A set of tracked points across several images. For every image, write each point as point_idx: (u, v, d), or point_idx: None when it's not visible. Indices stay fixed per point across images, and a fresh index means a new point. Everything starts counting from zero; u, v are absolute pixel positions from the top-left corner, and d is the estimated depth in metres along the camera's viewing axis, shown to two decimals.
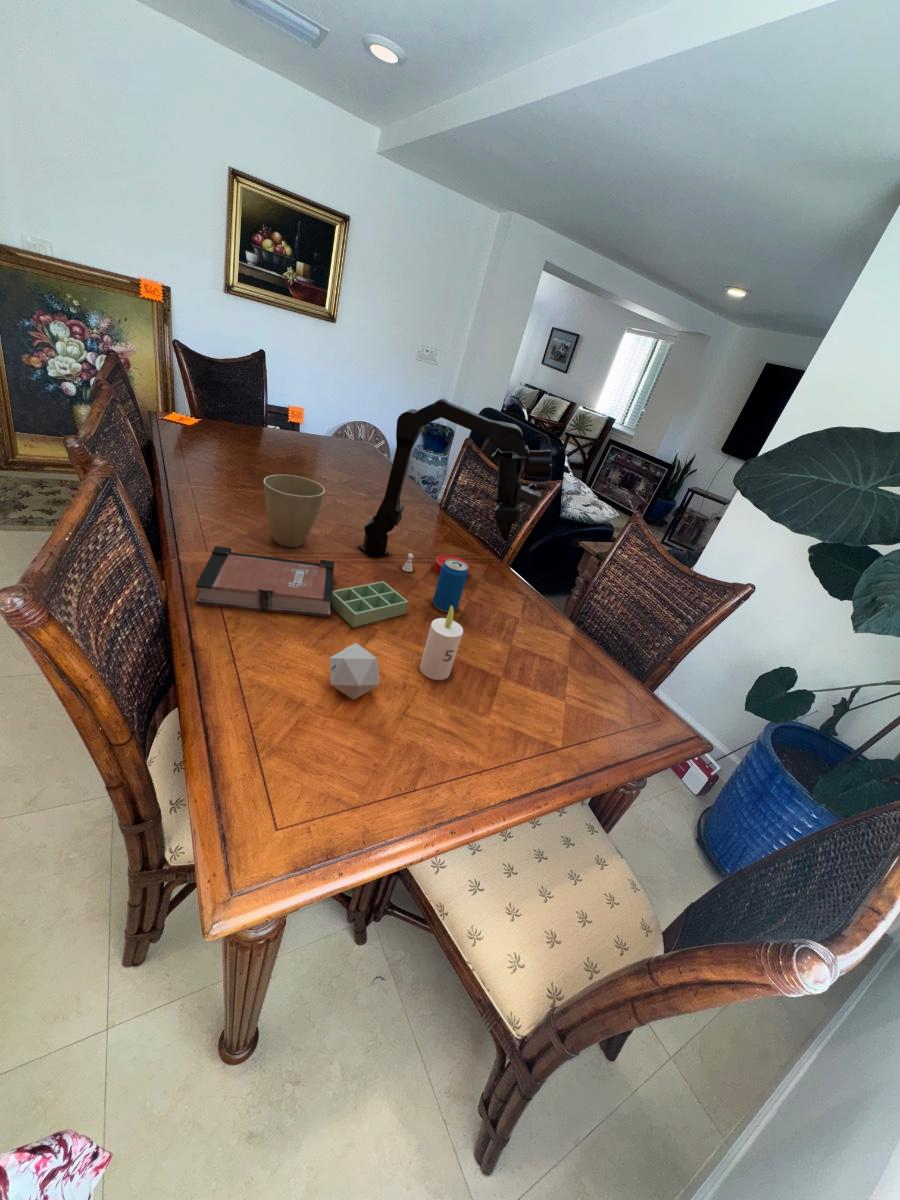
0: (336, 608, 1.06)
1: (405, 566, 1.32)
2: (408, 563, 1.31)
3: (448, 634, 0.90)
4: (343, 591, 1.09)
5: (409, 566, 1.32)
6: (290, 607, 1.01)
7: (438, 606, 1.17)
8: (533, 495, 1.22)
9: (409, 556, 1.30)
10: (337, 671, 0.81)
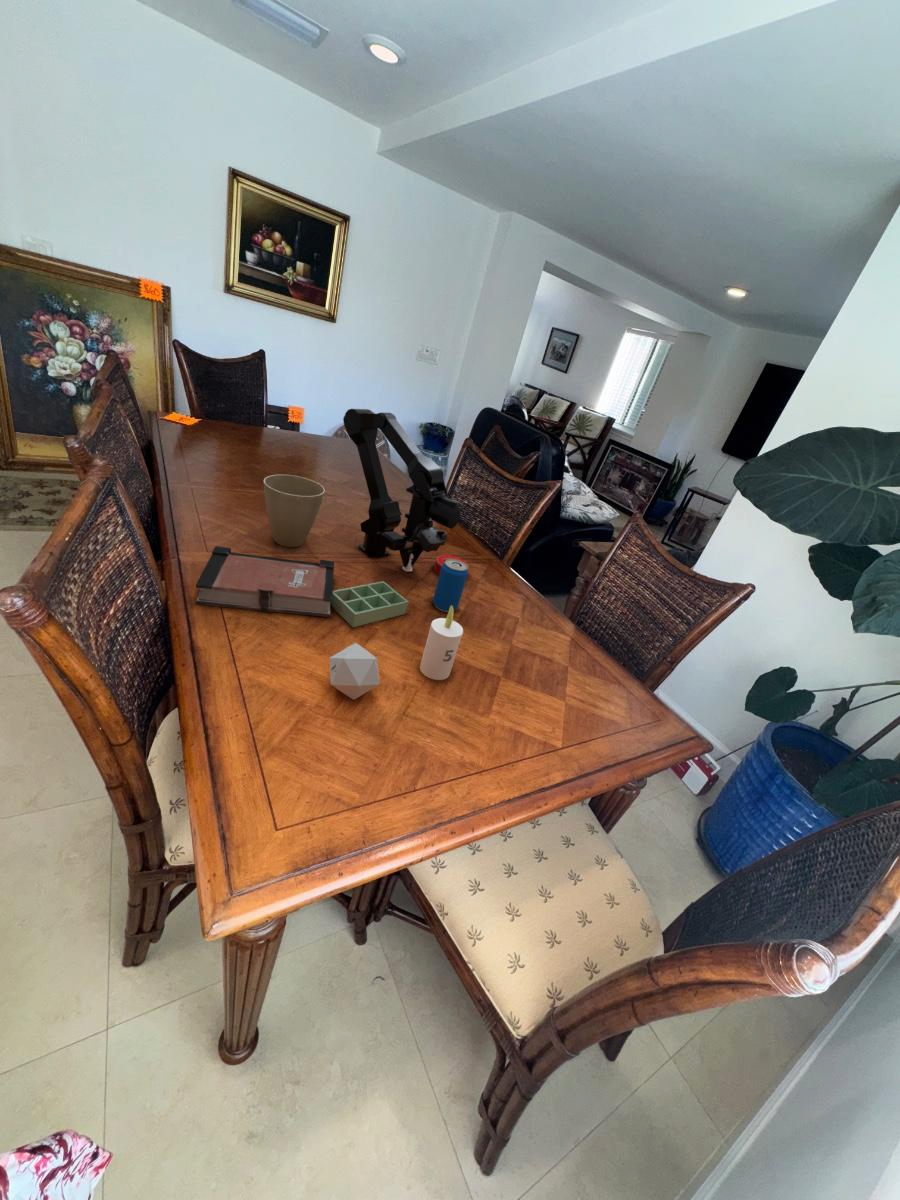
0: (336, 608, 1.06)
1: None
2: (408, 563, 1.31)
3: (448, 634, 0.90)
4: (343, 591, 1.09)
5: (409, 566, 1.32)
6: (290, 607, 1.01)
7: (438, 606, 1.17)
8: (425, 538, 1.22)
9: None
10: (337, 671, 0.81)
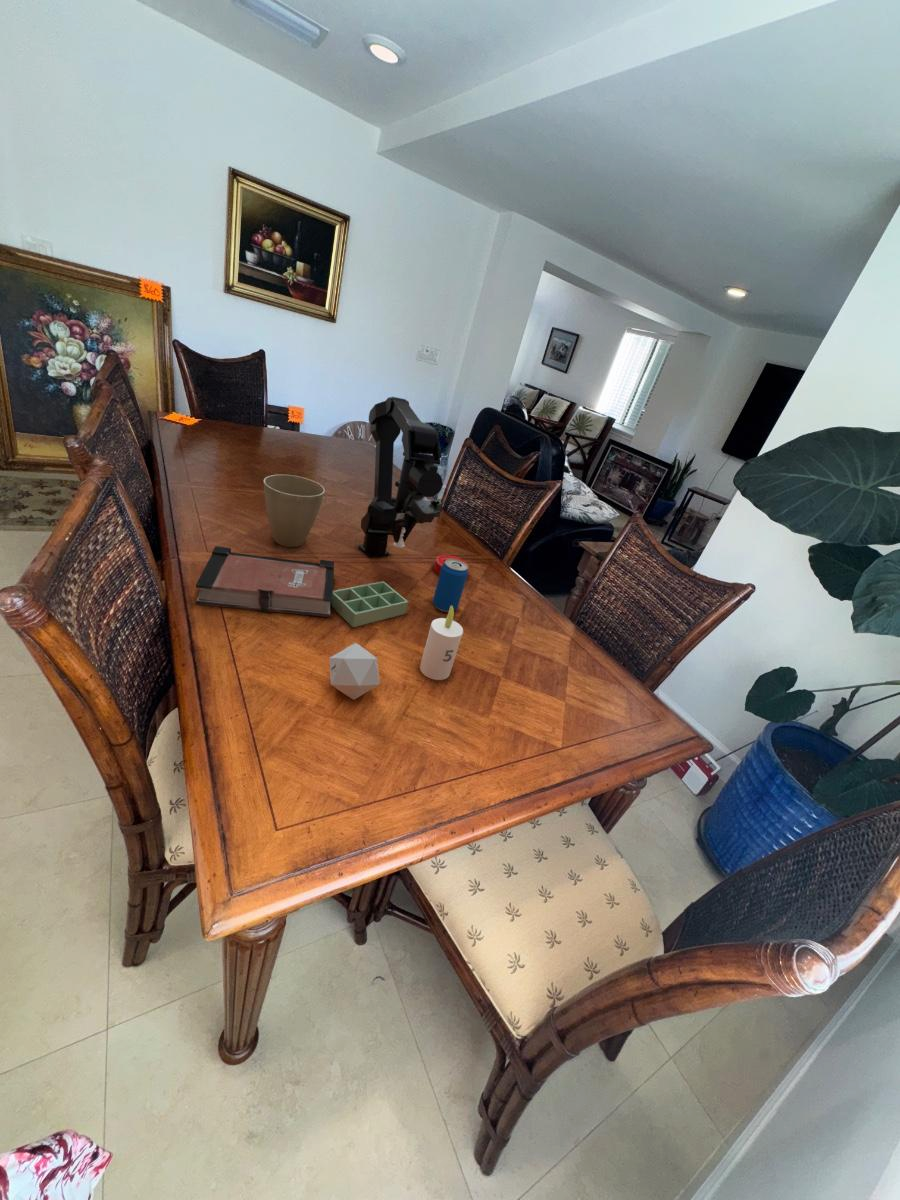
0: (336, 608, 1.06)
1: None
2: (400, 538, 1.19)
3: (448, 634, 0.90)
4: (343, 591, 1.09)
5: (401, 541, 1.19)
6: (290, 607, 1.01)
7: (438, 606, 1.17)
8: (418, 508, 1.09)
9: None
10: (337, 671, 0.81)
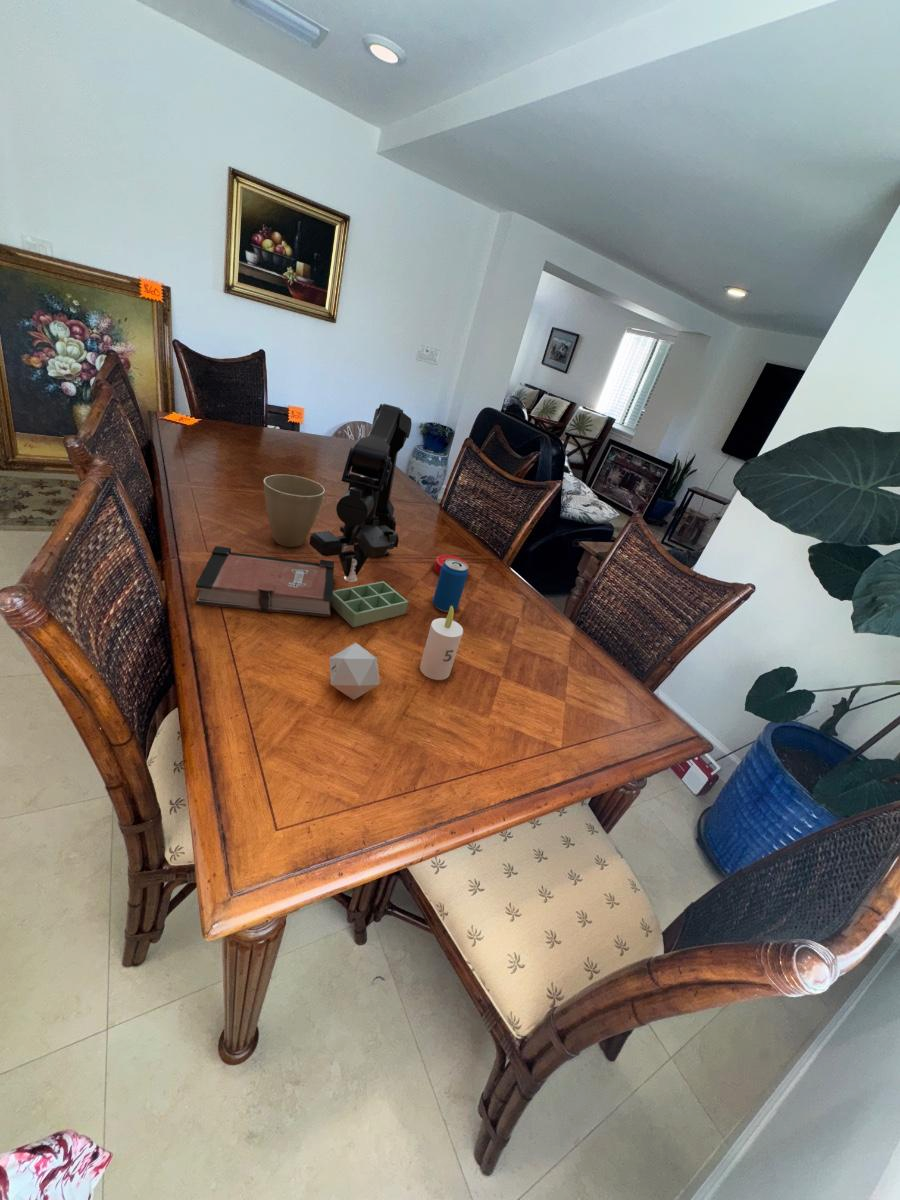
0: (336, 608, 1.06)
1: None
2: (351, 571, 1.04)
3: (448, 634, 0.90)
4: (343, 591, 1.09)
5: (352, 575, 1.04)
6: (290, 607, 1.01)
7: (438, 606, 1.17)
8: (366, 540, 0.94)
9: None
10: (337, 671, 0.81)
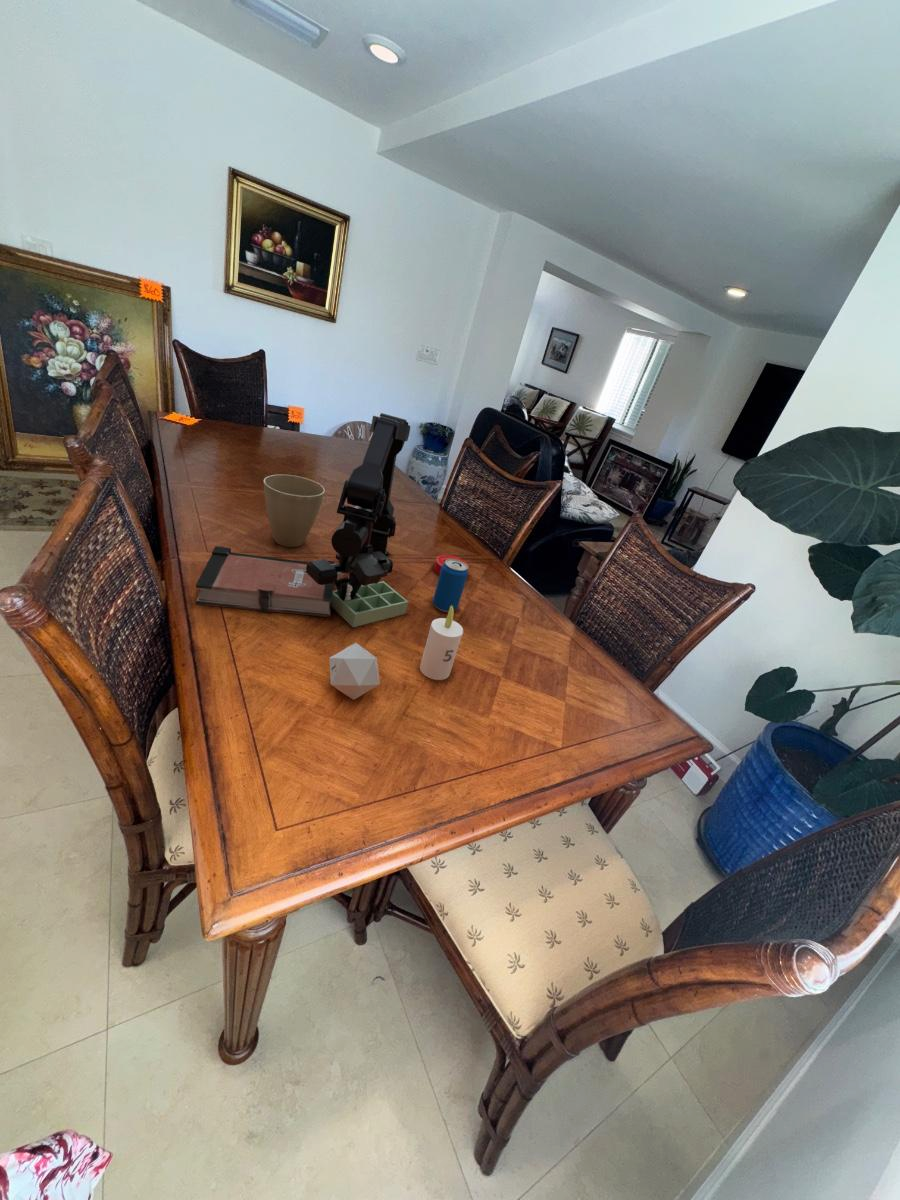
0: (336, 608, 1.06)
1: None
2: (346, 597, 1.07)
3: (448, 634, 0.90)
4: None
5: (347, 600, 1.07)
6: (290, 607, 1.01)
7: (438, 606, 1.17)
8: (361, 569, 0.97)
9: None
10: (337, 671, 0.81)
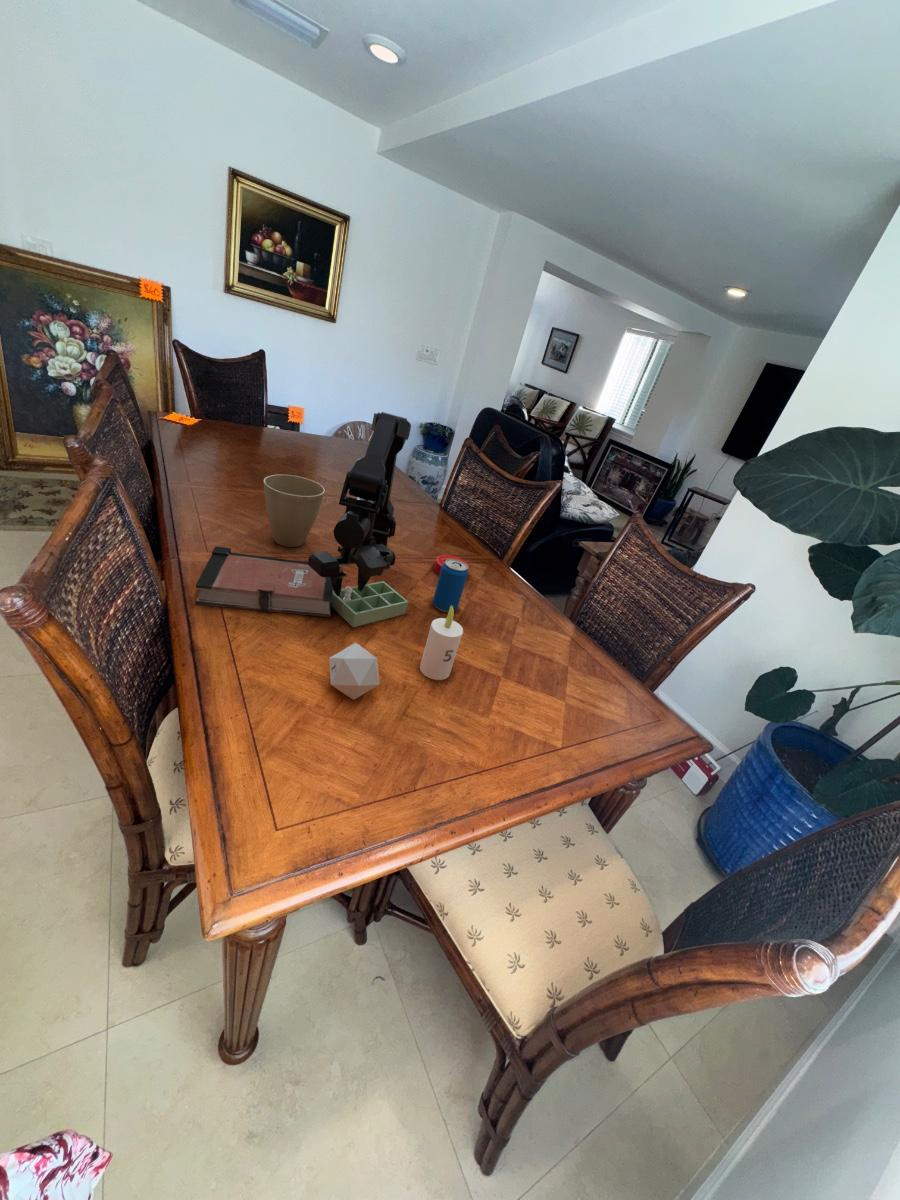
0: (336, 608, 1.06)
1: None
2: (346, 598, 1.07)
3: (448, 634, 0.90)
4: (343, 591, 1.09)
5: None
6: (290, 607, 1.01)
7: (438, 606, 1.17)
8: (363, 561, 0.96)
9: (347, 590, 1.06)
10: (337, 671, 0.81)
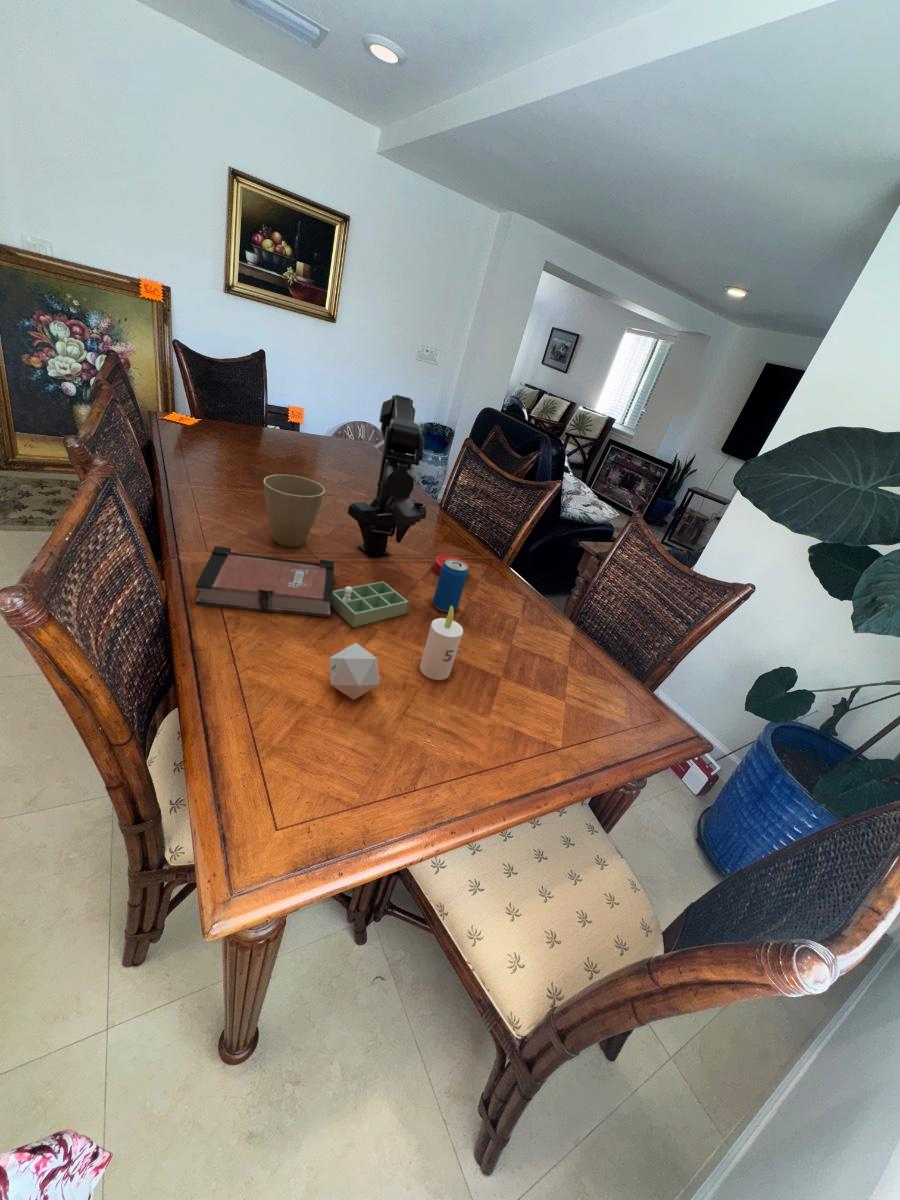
0: (336, 608, 1.06)
1: None
2: (346, 598, 1.07)
3: (448, 634, 0.90)
4: (343, 591, 1.09)
5: None
6: (290, 607, 1.01)
7: (438, 606, 1.17)
8: (399, 510, 1.05)
9: (347, 590, 1.06)
10: (337, 671, 0.81)
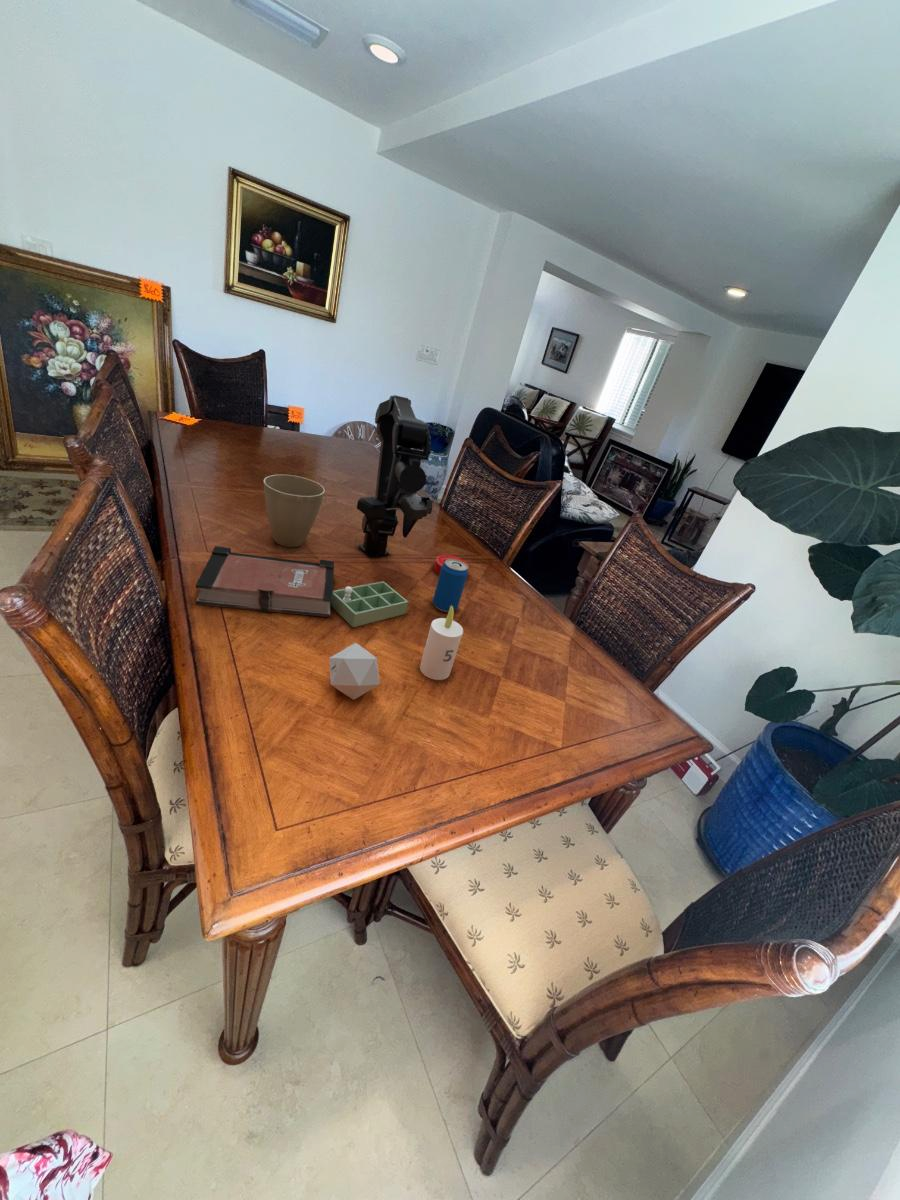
0: (336, 608, 1.06)
1: None
2: (346, 598, 1.07)
3: (448, 634, 0.90)
4: (343, 591, 1.09)
5: None
6: (290, 607, 1.01)
7: (438, 606, 1.17)
8: (407, 504, 1.07)
9: (347, 590, 1.06)
10: (337, 671, 0.81)
